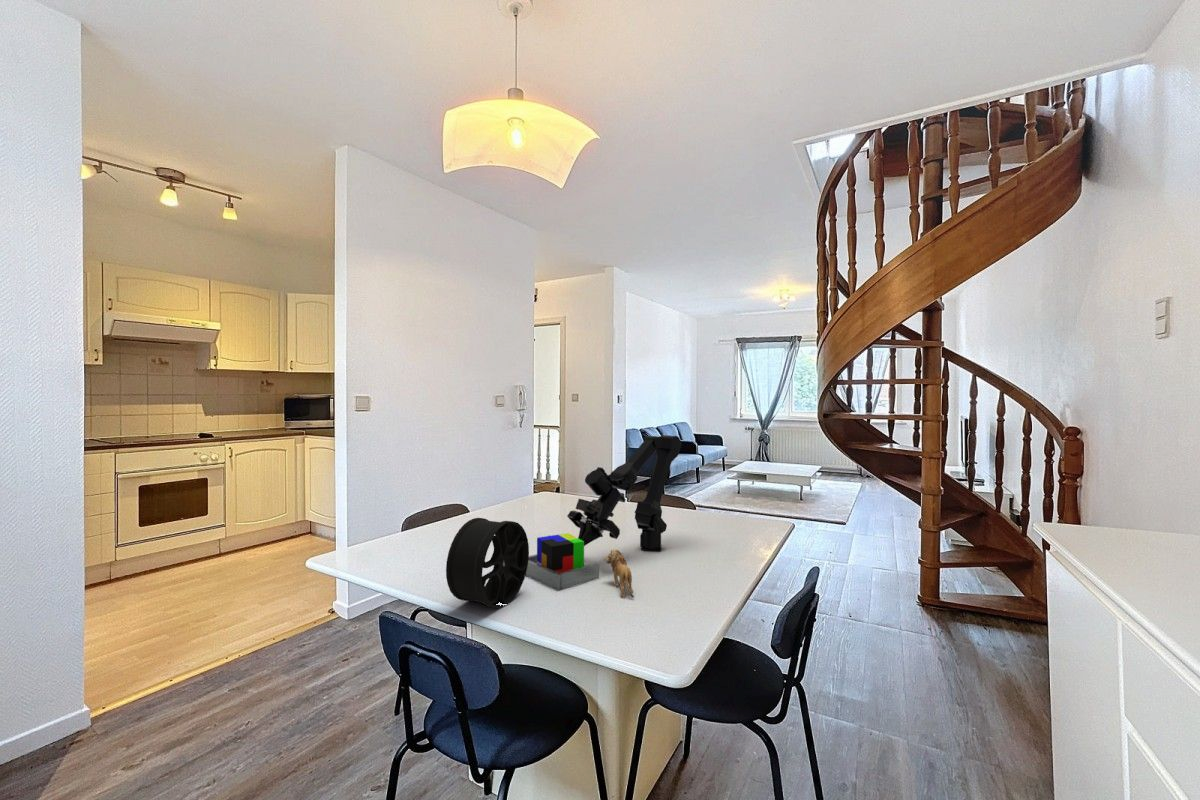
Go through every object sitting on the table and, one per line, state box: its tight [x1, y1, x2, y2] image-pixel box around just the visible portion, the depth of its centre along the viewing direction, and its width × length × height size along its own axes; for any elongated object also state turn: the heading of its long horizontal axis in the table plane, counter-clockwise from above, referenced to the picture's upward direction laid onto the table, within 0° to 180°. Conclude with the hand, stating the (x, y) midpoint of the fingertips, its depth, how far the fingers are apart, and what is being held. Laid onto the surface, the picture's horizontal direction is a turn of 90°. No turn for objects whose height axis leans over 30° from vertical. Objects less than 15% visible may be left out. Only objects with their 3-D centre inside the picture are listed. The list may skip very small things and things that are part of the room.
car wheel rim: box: [445, 517, 530, 609], centre depth 124 cm, size 20×10×20 cm, turn 156°
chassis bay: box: [525, 553, 600, 591], centre depth 143 cm, size 14×18×4 cm
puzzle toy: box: [536, 532, 585, 573], centre depth 143 cm, size 10×10×10 cm
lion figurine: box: [604, 549, 635, 599], centre depth 132 cm, size 15×5×9 cm, turn 21°
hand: (577, 547), depth 147 cm, fingers closed
